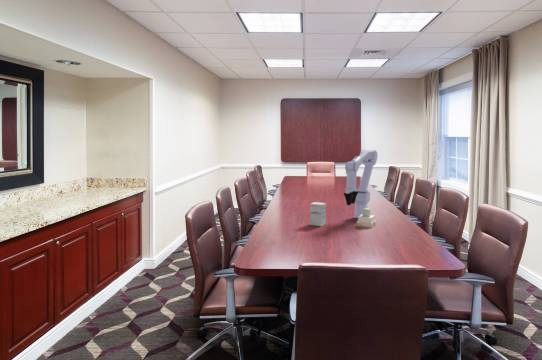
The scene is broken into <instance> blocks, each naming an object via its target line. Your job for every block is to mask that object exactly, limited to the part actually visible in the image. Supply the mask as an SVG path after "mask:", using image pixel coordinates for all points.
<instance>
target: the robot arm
mask: <svg viewBox="0 0 542 360" xmlns="http://www.w3.org/2000/svg"><path fill="white" fill-rule="evenodd" d="M359 152H360V153H359V155H358V156H357V155H356V156H354V158H353V159H352V160H351V161H347V162H346V163H345V166H344V169H345V174H346V184H345V185H346V186H345V187H346V188H344V191H345V192H344V193H343V196H344V198H345V204H346V206H351V205H352V204H354V216H352V219H353V218H354V219H358V216H360V215H362V209H363V208H369V207H368V204H369V202H370V199H371V192H370V190H368V189H369V183H370V179H371V175H372V171H373V168H374V166H375V165H376V163H377V161H378V157H379V155H378V152H377V150H373V149H371V150H369V149H367V150H366V149H362V150H361V151H359ZM361 165H364V168H363V172H362V175H361V180H360V183H359V187H357V177H358V176H357V175H358V174H357V172H358V171H359V168H360V167H361Z"/></svg>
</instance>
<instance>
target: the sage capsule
mask: <svg viewBox="0 0 542 360" xmlns="http://www.w3.org/2000/svg"><path fill="white" fill-rule="evenodd" d="M371 211H372V210H371V208H369V207H368V208H363V209H362V216H364V217H370V215H372V214H371Z"/></svg>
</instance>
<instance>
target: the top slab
mask: <svg viewBox="0 0 542 360" xmlns="http://www.w3.org/2000/svg"><path fill="white" fill-rule="evenodd" d="M375 217H376V216H375V215H372V214H370V217H364V216H362V215H360V216H358V218H357V221H358V222H366V223H372V222H373V221H375V220H376V218H375Z"/></svg>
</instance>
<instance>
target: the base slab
mask: <svg viewBox="0 0 542 360" xmlns="http://www.w3.org/2000/svg"><path fill="white" fill-rule="evenodd" d="M376 225H377V220H376V219H375V221H373V222H372V223H366V222H358V220H357V221H356V227H363V228H370V229H371V228H372V229H373V228H374V227H375V226H376Z"/></svg>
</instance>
